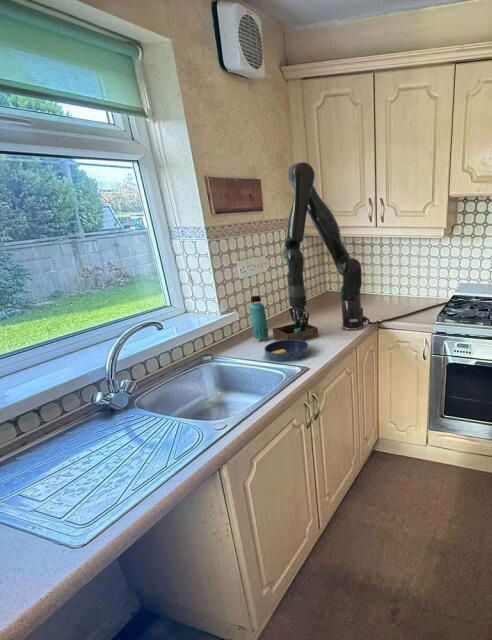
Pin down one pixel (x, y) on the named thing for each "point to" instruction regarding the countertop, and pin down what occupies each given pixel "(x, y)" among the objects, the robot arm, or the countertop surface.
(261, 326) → the beverage bottle
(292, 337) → the box
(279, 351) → the block
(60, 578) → the countertop surface
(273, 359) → the bowl
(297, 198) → the robot arm
